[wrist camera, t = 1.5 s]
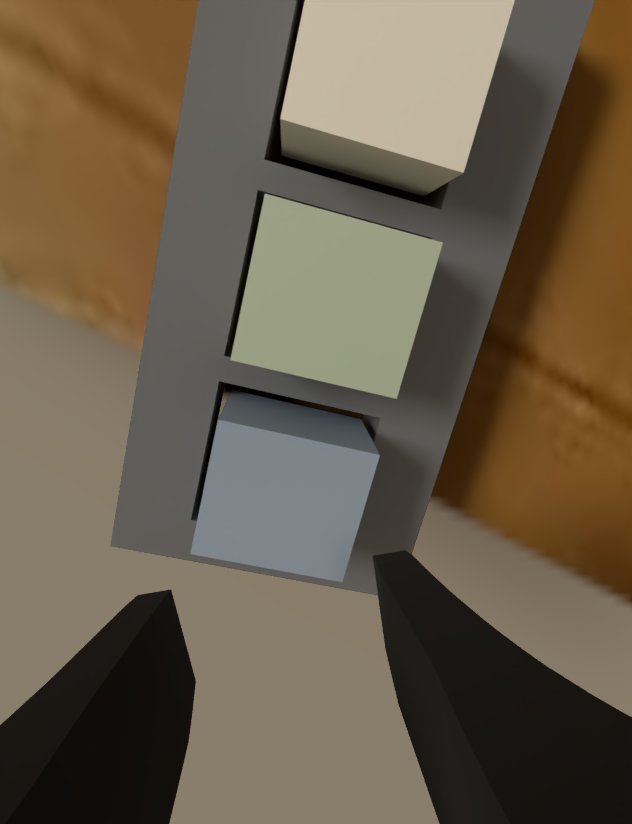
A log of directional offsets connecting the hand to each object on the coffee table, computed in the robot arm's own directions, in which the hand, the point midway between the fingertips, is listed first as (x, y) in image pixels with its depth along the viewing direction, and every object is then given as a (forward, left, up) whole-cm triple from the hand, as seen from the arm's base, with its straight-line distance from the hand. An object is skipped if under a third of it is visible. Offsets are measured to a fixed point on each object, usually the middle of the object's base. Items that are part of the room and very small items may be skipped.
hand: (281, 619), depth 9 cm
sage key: (0, -6, -8) cm, 10 cm away
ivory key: (0, -11, -8) cm, 14 cm away
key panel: (0, -6, -10) cm, 11 cm away
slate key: (0, 0, -8) cm, 8 cm away
